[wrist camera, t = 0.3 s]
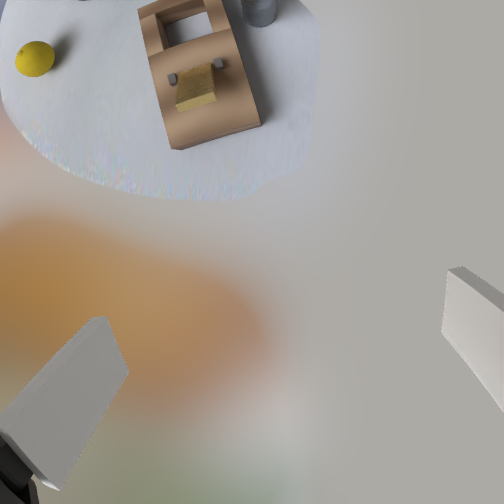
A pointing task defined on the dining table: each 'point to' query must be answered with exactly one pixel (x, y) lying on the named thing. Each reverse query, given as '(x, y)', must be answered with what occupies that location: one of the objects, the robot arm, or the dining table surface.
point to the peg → (259, 12)
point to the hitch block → (190, 56)
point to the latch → (195, 87)
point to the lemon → (35, 59)
